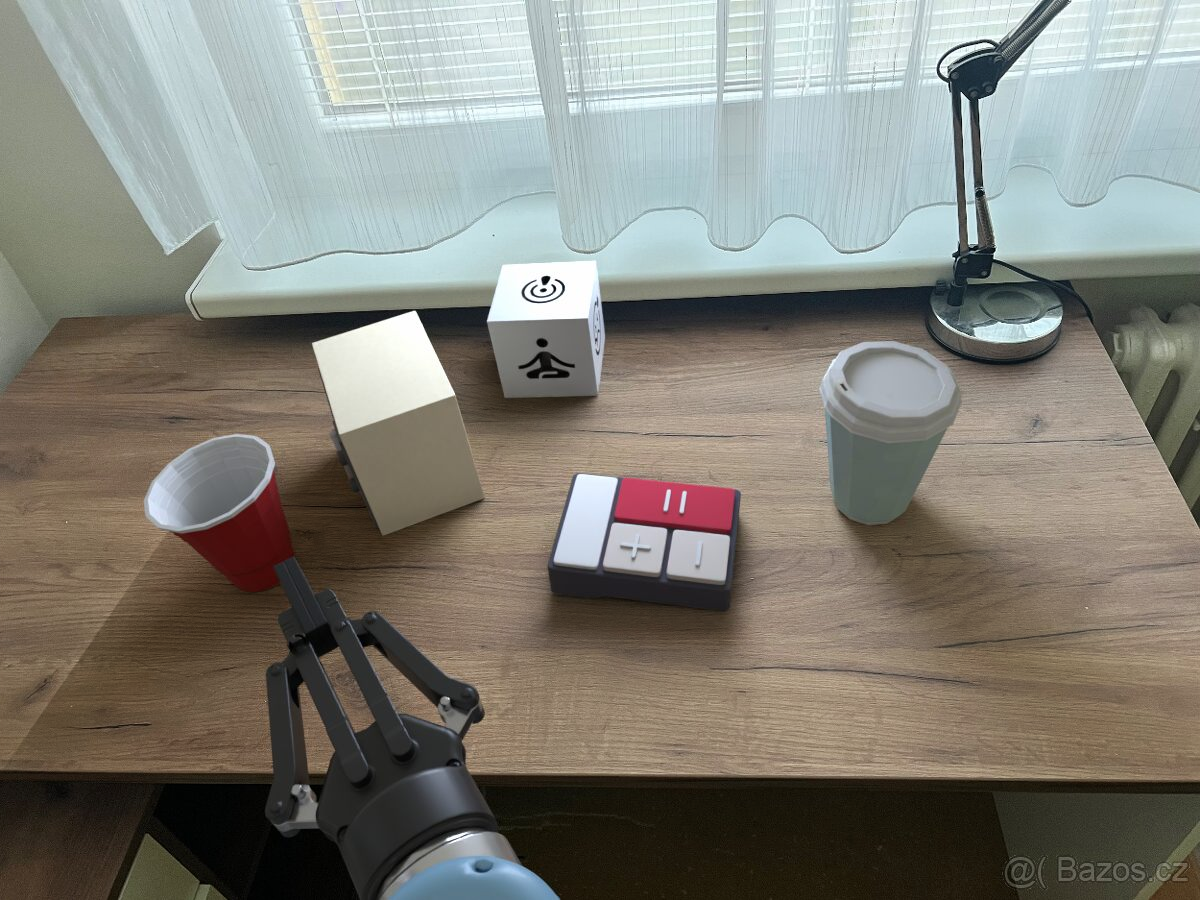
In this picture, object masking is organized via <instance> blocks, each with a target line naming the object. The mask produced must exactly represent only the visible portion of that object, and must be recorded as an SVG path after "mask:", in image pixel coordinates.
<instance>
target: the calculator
mask: <svg viewBox="0 0 1200 900" xmlns="http://www.w3.org/2000/svg"><path fill="white" fill-rule="evenodd" d="M741 493H742V492H741V491H740V490H739V489H736V488H730V487H722V486H714V485H713V486H712V485H702V484H693V483H683V482H675V481H664V480H653V479H645V478H635V477H620V476H611V475H603V474H602V475H601V474H593V473H582V472H576V473H574V474H573V475H572V478H571V482H570V485H569V488H568V492H567V495H566V500H565V503H564V506H563V510H562V513H561V517H560V520H559V523H558V527H557V529H556V530H557V531H556V534H555V538H554V541H553V544H552V547H551V552H550V555H549V559H548V563H547V573H548V580H549V585H550V591H551V593H553V594H554V595H560V596H561V595H562V596H568V597H577V598H584V599H590V600H591V599H592V600H594V599H597V598H602V597H607V598H615V599H622V600H623V599H625V600H631V601H632V600H633V601H639V602H646V603H647V602H649V603H654V604H662V605H671V606H678V607H688V608H694V609H701V610H702V609H703V610H710V611H718V612H727V611H728V610H729V609H730V605H731V599H732V586H733V577H734V567H735V558H736V557H735V556H736V547H737V537H738V529H739V518H740V510H741V509H740V508H741V496H742V494H741Z"/></svg>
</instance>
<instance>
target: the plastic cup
mask: <svg viewBox="0 0 1200 900" xmlns="http://www.w3.org/2000/svg"><path fill="white" fill-rule="evenodd" d="M275 465H276V462H275V459H274V455H273V452H272V448H271V445H270V444H269V443H267V442H266V441H265V440H263V439H261V438H260V437H258V436H257V435H249V434H241V433H234V434H228V435H224V436H218V437H213V438H210V439H208V440H206V441H204V442H201V443H198V444H197V445H194V446H192V447H189V448H188V449H187V450H185V451H184V452H182V453H180V455H178V456H177V457H175V458H174V459H172V460H171V461H170V462H168V463H167V464H165V466H164V467H163V468H162V470H161V471H160V472H159V473H158V474H157V475H156V476H155V477H154V478H153V480H152V481H151V482H150V485H149V487H148V490H147V492H146V494H145V497H144V499H143V507H144V515H145V518H146V519H147V520H149V521H150V522H151V523H152V524H153V525H154V526H155V527H156V528H158V529H159V530H161V531H165V532H169V533H172V535H174V536H175V537H178V538H180V539H181V540H182V541H183V542H184V543H187V544H188V545H189V546H190V547H191V548H192V549H193V550H194V551H196V552H197V553H198V554H199V555H200V556H201V557H202V558H203V559H205V561H206V562H208V564H209V565H211V566H212V567H213V568H214V569H215V570H216V571H217V572H218V573H220V574H222V575H223V576H224V577H225V578H226V579H227V580H228V581H229V582H230V583H231V584H232V585H234V586H235V587H236V588H238V589H240V590H241V591H244V592H249V593H256V592H264V591H267V590H269V589H272V588H273V587H276V586H278V585H279V584H281V583H280V581H279V579H278V577H277V574H276V572H275V570H274V568H273V566H275V565H277V564H279V563H281V562H283V561H285V560H287V559H289V558H291V557H293V556H294V557H295V558H296V556H295V555H296V552H295V549H294V546H293V541H292V539H291V536H290V535H291V531H290V527H289V524H288V521H287V518H286V514H285V510H284V507H283V504H282V500H281V496H280V494H279V486H278V483H277V478H276V475H275V470H274V469H275Z"/></svg>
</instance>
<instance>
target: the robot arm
mask: <svg viewBox="0 0 1200 900" xmlns="http://www.w3.org/2000/svg"><path fill="white" fill-rule="evenodd" d="M294 556H295V555H294ZM294 556H293V557H291V558H289V559H287V560H285V561H283V562H281V563H279V564H277V565H275V566H273V568H274V570H275V572H276V574H277V577H278V579H279V581H280V583H279V584H280V585H281V587H282V589H283V591H284V594H285V596H286V598H287V600H288V603H289V604H290V606H291V607H288V608H287V609H285V610H283V611H281V612H279V613H278V614H277V623H278V625H279V627H280V629H281V632H282V634H283V636H284V638H285V641H286V647H287V649H288V650H289V652H288V654H287V656H286V657H285V658H284V659H283V660H282V661H281V662H280V661H278V662H277V661H276V662H274V663H272V664H270V665H269V666H268V667H267V669H266V671H265V684H266V696H267V707H268V721H269V732H270V746H271V759H272V771H273V779H272V783H271V786H270V789H269V793H268V797H267V800H266V802H265V803H266V804H265V808H264V815H265V817H266V818H267V820H268V821H270V822H271V824H272V825H273V826H274V827H275V828H276V830H277V831H278V832H279V833H280V834H281V835H282V836H283V837H284V838H292V837H293V838H294V837H295V836H296V835H298V833H299V832H300V831H301V830H304V829H306V830H307V829H319V830H320V831H321V832H322V834H323V835H324V836H325V837H326V838H327V839H328V840H330V841H331V842H333V843H335V844H336V845H337V847H338V849H339V852H340V854H341V856H342V859H343V862H344V864H345V866H346V869H347V871H348V874H349V876H350V879H351V880H352V883H353V885H354V889H355V891H356V893H357V896H358V898H359V900H561V898H560V897H559V896H558V895H557V894H556V893H555V892H554V890H553V889H552V888H551V887H550V886H549V885H548V884H547V882H545V881H544V880H543V879H542V878H541V877H540V876H538V874H536V873H535V872H533V871H531V870H530V869H529V868H527V867H524V866H523V864H522V863H521V861H520V859H519V857H518V856H517V853H516V852H515V850H514V849H513V847H512V845H511V844H510V842H509V840H508V839H507V838H506V836H505V835H503V834H501V833H499V823H498V821H497V819H496V817H495V815H494V813H493V812H492V810H491V808H490V807H489V805H488V802H486V799H485V797H484V796H483V794H482V793H481V791H480V789H479V787H478V785H477V783H476V782H475V780H474V778H473V777H472V774H471V773H470V771H469V770H468V768H467V762H466V759H467V751H466V750H467V749H466V746H465V745H464V743H463V740H464V738H465V737H466V735H467V733H468V731H469V730H470V728H471V726H472V725H475V724H479V723H480V722H482V721H483V719H484V718H485V715H486V713H485V712H486V710H485V708H484V706H483V703H482V699H481V697H480V694H479V692H478V689H477V687H476V686H475V685H473V684H470V683H468V682H465V681H462V680H460V679H457V678H455V677H452V676H449V675H447V674H446V673H445V672H444V671H443V670H442V669H440V667H438V666H437V665H436V664H435V663H434V662H433V661H432V660H431V659H430V658H428V657H427V656H426V655H425V654H424V653H423V651H421V650H420V649H419V648H418V647H417V646H416V645H415V644H414V643H413V642H411V640H409V639H408V638H407V637H406V636H405V635H404V634H403V633H402V632H400V631H399V630H398V629H397V628H396V627H395V626H394V625H393V624H391V623H390V621H388V620H387V619H386V618H385V617H384V616H383V615H382V614H381V613H380V612H378V611H376V610H370V611H367V612H366V613H364V614H363V615H362V617H361V618H359V619H352V618H350V617H348V616H347V614H346V612H345V611H344V609H343V607H342V605H341V603H340V601H339V599H338V597H337V595H336V594H335V592H334V591H333V590H332V589H331V588H329V587H327V588H324V589H323V590H320V591H319V592H317V593H315V592H314V591H313V589H312V586H311V585H310V582H309V581H308V579H307V578H306V576H305V574H304V572H303V570H302V568H301V566H300V564H299V563H298V560H297V558H296V556H295V557H294ZM369 647H373V648H374V649H376V651H377V652H379V654H381V656H383V657H384V658H385V660H387V661H388V662H389V663H390V664H391V665H392V666H393V667H394V668H395V669H396V670H397V671H399V673H401V674H402V675H403V677H405V678H406V679H407V680H408V681H409V682H410V683H411V685H413V686H414V687H415V688H416V689H417V690H418V691H419V692H421V694H422V695H423V696H424V697H425V698H427V700H429V701H430V702H431V703H432V705H434V706H435V707H436V708H437V709H436V710H437V712H438V715H439V717H440V719H441V721H442V722H443V723H444V725H441V724H438V723H435V722H432V721H429V720H426V719H423V718H420V717H417V716H414V715H411V714H408V713H403V712H402V713H398V712H397V709H396V707H395V706H394V704H393V702H392V700H391V698H390V696H389V695H388V693H387V691H386V689H385V687H384V685H383V683H382V681H381V679H380V678H379V675H378V673H377V671H376V670H375V668H374V666H373V664H372V662H371V660H370V658H369V656H368V654H367V652H366V651H365V649H364V648H369ZM337 649H339V650H340V652H341V654H342V656H343V658H344V660H345V662H346V664H347V666H348V669H349V670H350V672H351V674H352V676H353V678H354V680H355V682H356V684H357V686H358V688H359V690H360V692H361V694H362V696H363V698H364V700H365V702H366V704H367V707H368V708H369V710H370V713H371V714H372V717H373V718H374V721H373V722H372V723H371V724H370V725H369V726H368V727H366V728H365V729H363V730H359V731H355V729H354V727H353V725H352V723H351V721H350V717H349V716H348V714H347V712H346V710H345V708H344V706H343V703H342V701H341V699H340V698H339V696H338V693H337V691H336V690H335V688H334V686H333V683H332V680H331V678H330V676H329V675H328V673H327V671H326V668H325V666H324V664H323V663H322V660H321V659H320V658H321V657H323V656H325V655H327V654H329V653H331V652H333V651H334V650H337ZM303 683H304V684H305V686H306V688H307V691H308V693H309V695H310V697H311V699H312V701H313V704H314V706H315V708H316V710H317V713H318V715H319V717H320V719H321V722H322V724H323V726H324V729H325V732H326V734H327V736H328V738H329V741H330V743H331V745H332V747H333V749H334V751H333V754H332V755H331V757H330V759H329V764H328V767H327V771H326V774H325V778H324V781H323V785H322V788H321V792H320V796H319V799H318V801H317V795H316V794H315V792H314V791H313V790H312V788H311V787H310V775H309V766H308V756H307V748H306V737H305V728H304V720H303V710H302V702H301V701H302V700H301V692H300V686H301V685H302V684H303Z"/></svg>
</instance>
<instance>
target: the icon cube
mask: <svg viewBox="0 0 1200 900" xmlns="http://www.w3.org/2000/svg"><path fill="white" fill-rule="evenodd" d="M494 291H495V292H494V295H493V298H492V301H491V302H492V303H491V306H490V309H489V313H488V315H487V320H486V324H487V327H488V332H489V337H490V342H491V345H492V350H493V354H494V358H495V363H496V367H497V370H498V371H497V372H498V376H499V378H500V383H501V388H502V392H503V397H504V399H512V398H513V399H514V398H519V399H520V398H558V397H563V398H564V397H599V394H600V393H599V391H600V383H601V377H602V376H601V375H602V369H603V368H602V367H603V358H604V351H605V350H604V349H605V342H606V331H605V323H604V315H603V307H602V298H601V291H600V282H599V274H598V266H597V260H583V261H580V260H579V261H560V262H537V263H514V264H512V263H511V264H502V266H501V269H500V273H499V277H498V280H497V284H496V288H495V290H494Z"/></svg>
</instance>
